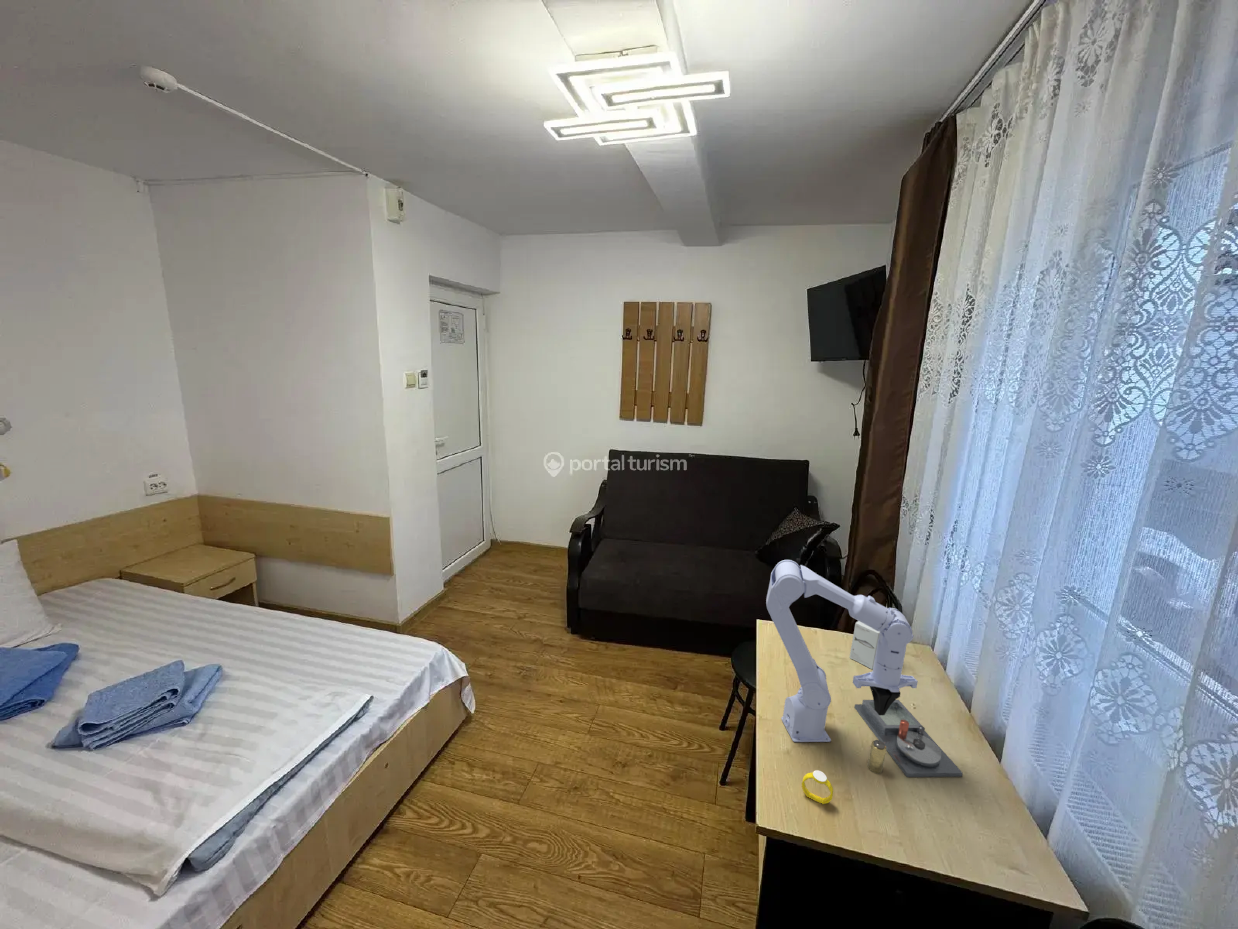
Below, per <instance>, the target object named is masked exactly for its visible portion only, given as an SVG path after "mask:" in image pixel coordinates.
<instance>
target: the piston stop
mask: <svg viewBox="0 0 1238 929" xmlns="http://www.w3.org/2000/svg"><path fill="white" fill-rule="evenodd" d="M886 753H887V750H886V746H885V744H884V743H883V742H882V741H879V740H878V739H875V740H872V741H871V743H870V749H869V756H868V761H867V768H868V770H869V771H871V772H872V773H874V774H876V775H880V774H882V772H883V769H884V763H885V758H886Z"/></svg>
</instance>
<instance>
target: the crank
mask: <svg viewBox="0 0 1238 929" xmlns="http://www.w3.org/2000/svg"><path fill="white" fill-rule="evenodd" d="M908 727H909V722H908V721H906V720H901V721H900V726H899V731H898V735H897V740H896V746H897V748H898V750H899V751H900V752H901V753H902V754H903V755H904V756H905V757H906V758H908V759H909V760H911V761H913V762H915V763H917V764H920V765H923V766H928V767H933V766H937V765H938V764H939V763H940V760H941V751H940V749H939V747H940V746H939V745H938V744H937V743H936V742H935V741H934V742H935V743H936V744H937V745H938V746H939V747H938V746H937V745H936V744H935V743H934V742H933V741H931V740H930V739H929V738H927V737H925V736H923V735H921V734H919V733H916V732H911V731H908Z"/></svg>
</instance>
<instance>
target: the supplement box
mask: <svg viewBox="0 0 1238 929" xmlns="http://www.w3.org/2000/svg"><path fill="white" fill-rule="evenodd" d="M853 629H854V631H853V637H852V640H851V641H852V642H851V646H850V652H849V658H850V659H851V660H854V661H856V662H857V663H859V664H861V665H862V666H864V667H866V668H868V669H870V670H873V666H874V660H875V655H876V649H877V643H878V639H879V634H880V632H879V631H877V630H875V629H873V628H871V627H869V626H867V625H865V624H864V623H862V622H860V621H858V620H857V621H856V622H855V624H854V628H853Z"/></svg>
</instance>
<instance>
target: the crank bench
mask: <svg viewBox="0 0 1238 929" xmlns="http://www.w3.org/2000/svg"><path fill="white" fill-rule="evenodd" d="M854 709H855V710H856V712H857V713H858V715H859V716H860V718H862V720H863V721H864V722H865V724H866V725H867V726H868V728H869V729H870V731H871V732H872V734H874V735H875V737H876V738H877V740H879V741H882V742H883V743H884V744H885V746H886V753H888V754H889V755H890V757H891V758H892V759H893V761H894V762H895V764H896V765H897V766H898V768H899V769H900V770H901V771H902V773H903V774H904V776H905V777H906V778H933V777H934V778H939V777H940V778H942V777H943V778H944V777H945V778H946V777H947V778H949V777H951V778H952V777H953V778H954V777H955V778H956V777H958V778H959V777H963V771H962V770H961V769H959V767H958V766H957V765H956V763H954V761H953V760H952V759H951V758H950V757H949V755H947V754H946V753H945V751H944V750H943V749H942V748H941V747H940V746H939V745H938V743H937V742H936V741H935V740H934V739H933V738H932V737H931V735H929V734H928V732H926V730H925V729H926V728H925V726H924V725H922V723H920V722H919V720H918V719H917V718H916V717H915V716H914V715H913V714H912V713H911V712H910V711H909V710H908V708H907V707H906V706H905V705H904V703H902V702H901V700H900V699H896V700H895V701H894V702H893V703H892V704H891V705H890V707H889V708H888V710H887V711H886V713H885V715H878V713H877V712H876V711H875V710H874V700H873V699H862V702H861V703H860V704H857V703H856V704H854ZM901 720H906V721H908V722H909V727H908V731H911V732H916V733H919V734H921V735H923V736H925V737H927V738H929V739H930V740H931V741H933V742H934V743H935V744H936V745H937V746H938V747H939V749H940V751H941V760H940V763H939V764H938V765H937V766H933V767H928V766H923V765H920V764H917V763H915V762H913V761H911V760H909V759H908V758H906V757H905V756H904V755H903V754H902V753H901V752H900V751H899V750H898V748H897V746H896V740H897V735H898V731H899V726H900V721H901Z"/></svg>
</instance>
